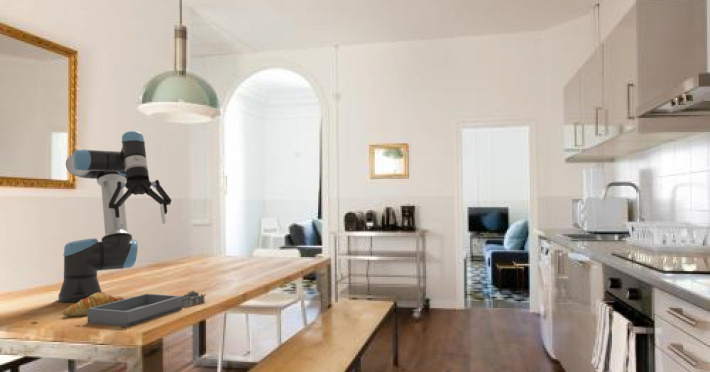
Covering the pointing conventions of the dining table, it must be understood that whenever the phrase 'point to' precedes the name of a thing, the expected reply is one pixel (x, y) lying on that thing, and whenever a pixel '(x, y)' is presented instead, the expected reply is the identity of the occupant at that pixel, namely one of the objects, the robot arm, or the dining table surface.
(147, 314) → the grey rectangular open tray
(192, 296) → the egg carton
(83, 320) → the dining table surface
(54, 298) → the dining table surface
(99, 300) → the croissant
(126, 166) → the robot arm
